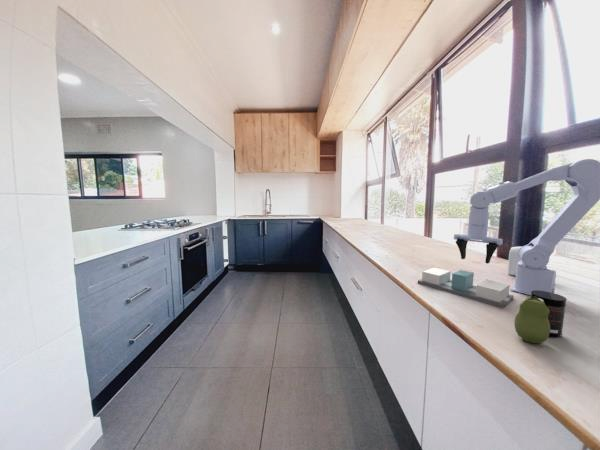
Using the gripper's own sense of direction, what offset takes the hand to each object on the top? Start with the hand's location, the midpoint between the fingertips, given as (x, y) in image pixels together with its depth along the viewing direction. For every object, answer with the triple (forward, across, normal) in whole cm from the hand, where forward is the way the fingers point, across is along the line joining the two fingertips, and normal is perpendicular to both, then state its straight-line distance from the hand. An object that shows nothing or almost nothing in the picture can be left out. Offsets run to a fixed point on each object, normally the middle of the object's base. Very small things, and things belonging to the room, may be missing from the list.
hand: (474, 260), depth 89 cm
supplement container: (+9, +22, -26) cm, 35 cm away
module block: (+7, 0, -12) cm, 14 cm away
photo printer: (+9, +10, +24) cm, 28 cm away
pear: (+9, +21, -34) cm, 41 cm away
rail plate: (+8, 0, -12) cm, 15 cm away
